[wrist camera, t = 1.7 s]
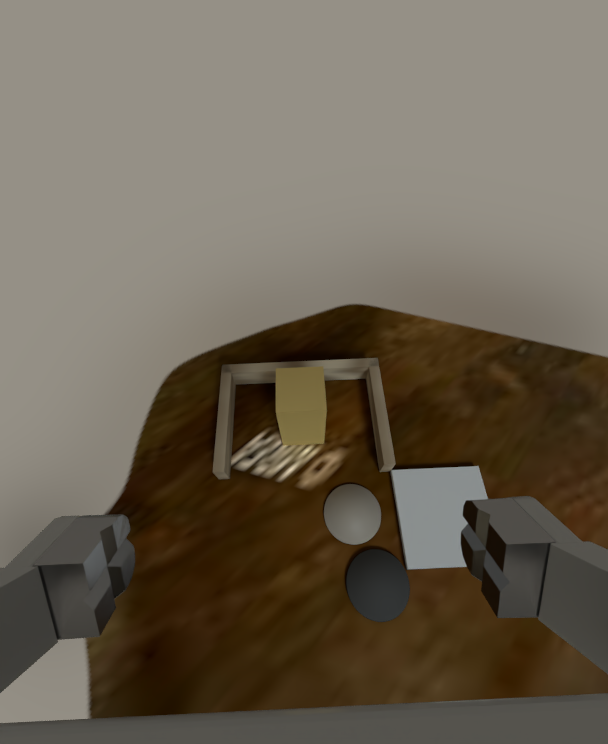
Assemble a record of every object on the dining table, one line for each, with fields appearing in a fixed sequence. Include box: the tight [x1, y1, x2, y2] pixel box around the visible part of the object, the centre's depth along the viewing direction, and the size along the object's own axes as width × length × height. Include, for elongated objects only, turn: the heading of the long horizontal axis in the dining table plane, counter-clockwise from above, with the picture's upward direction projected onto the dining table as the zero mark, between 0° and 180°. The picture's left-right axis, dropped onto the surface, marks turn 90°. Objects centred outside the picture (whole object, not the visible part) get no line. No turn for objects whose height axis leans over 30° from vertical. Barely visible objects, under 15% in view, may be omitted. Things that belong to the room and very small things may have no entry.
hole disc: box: [346, 549, 410, 622], centre depth 29 cm, size 5×5×1 cm
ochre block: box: [276, 366, 327, 445], centre depth 33 cm, size 4×4×8 cm
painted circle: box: [324, 484, 381, 545], centre depth 32 cm, size 5×5×1 cm
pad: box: [391, 466, 488, 569], centre depth 31 cm, size 8×8×1 cm
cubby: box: [213, 358, 395, 479], centre depth 35 cm, size 16×11×2 cm
